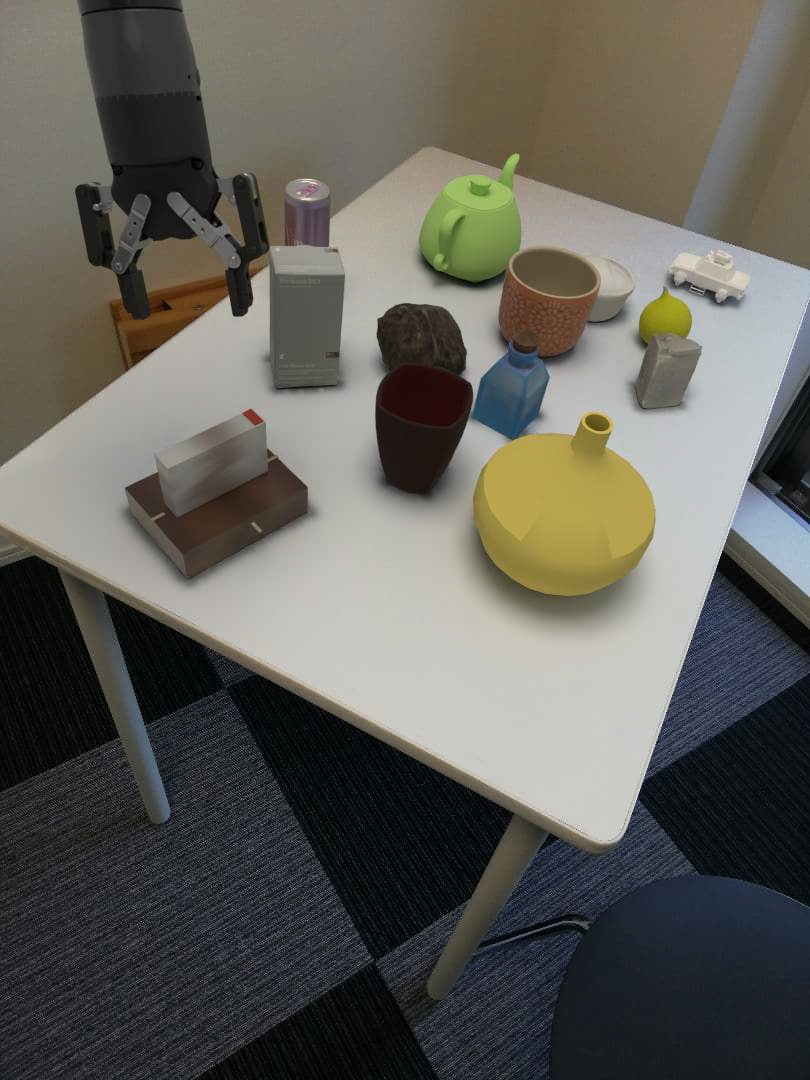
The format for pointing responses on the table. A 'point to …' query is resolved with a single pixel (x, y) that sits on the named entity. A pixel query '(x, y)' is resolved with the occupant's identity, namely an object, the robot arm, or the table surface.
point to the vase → (564, 510)
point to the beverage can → (307, 213)
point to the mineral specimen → (666, 370)
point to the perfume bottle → (513, 387)
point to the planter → (548, 296)
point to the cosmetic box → (305, 314)
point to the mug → (420, 423)
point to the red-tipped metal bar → (212, 462)
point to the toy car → (711, 274)
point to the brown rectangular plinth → (219, 516)
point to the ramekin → (610, 286)
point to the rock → (421, 337)
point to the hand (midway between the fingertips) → (191, 316)
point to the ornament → (665, 317)
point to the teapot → (473, 226)
